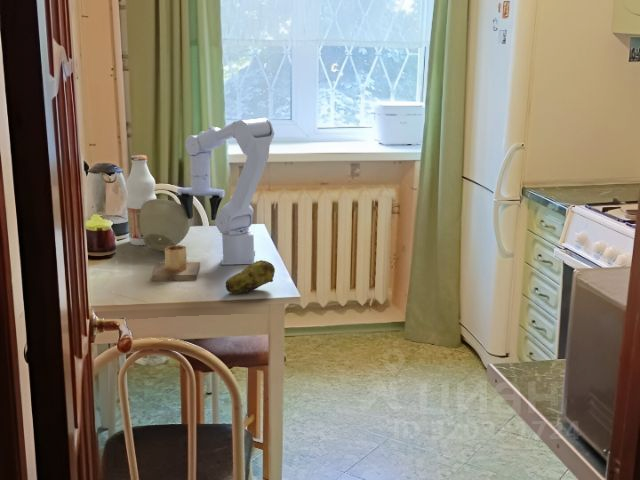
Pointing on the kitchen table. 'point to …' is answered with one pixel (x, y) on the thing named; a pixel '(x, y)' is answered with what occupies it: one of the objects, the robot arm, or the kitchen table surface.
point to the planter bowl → (163, 223)
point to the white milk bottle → (138, 196)
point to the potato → (251, 277)
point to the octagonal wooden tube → (175, 258)
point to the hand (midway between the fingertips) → (202, 218)
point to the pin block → (188, 274)
